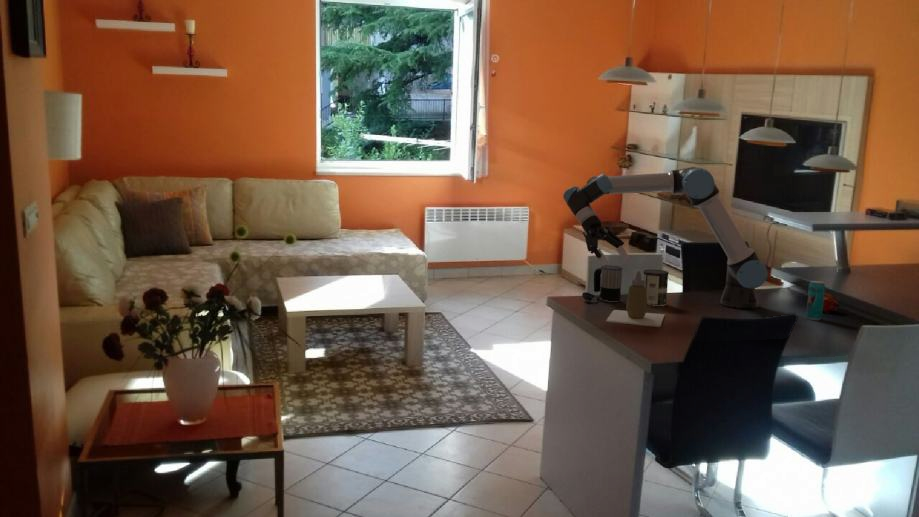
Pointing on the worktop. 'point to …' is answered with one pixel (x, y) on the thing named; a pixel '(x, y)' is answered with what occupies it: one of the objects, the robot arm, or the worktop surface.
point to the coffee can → (656, 286)
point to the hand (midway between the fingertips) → (616, 262)
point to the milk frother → (607, 283)
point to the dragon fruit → (829, 303)
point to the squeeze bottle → (637, 298)
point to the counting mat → (648, 319)
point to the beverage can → (815, 300)
